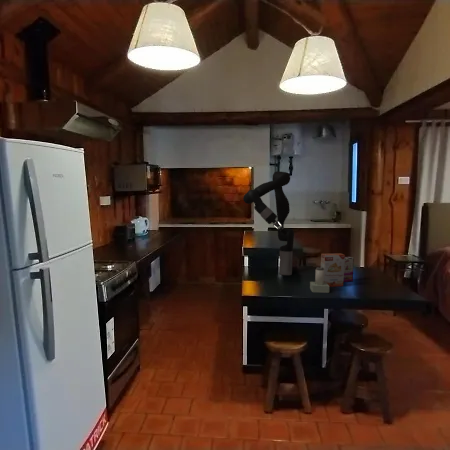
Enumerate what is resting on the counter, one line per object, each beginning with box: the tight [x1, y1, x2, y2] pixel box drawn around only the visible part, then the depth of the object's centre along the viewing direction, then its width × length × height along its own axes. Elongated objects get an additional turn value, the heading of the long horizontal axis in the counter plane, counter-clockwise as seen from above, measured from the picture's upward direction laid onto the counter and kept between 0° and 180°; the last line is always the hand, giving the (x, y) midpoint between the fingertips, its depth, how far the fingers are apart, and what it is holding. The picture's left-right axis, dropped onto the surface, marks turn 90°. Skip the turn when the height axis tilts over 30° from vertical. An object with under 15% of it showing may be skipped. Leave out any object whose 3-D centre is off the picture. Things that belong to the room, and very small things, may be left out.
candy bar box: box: [343, 256, 355, 283], centre depth 262 cm, size 11×5×16 cm, turn 112°
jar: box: [314, 266, 324, 285], centre depth 238 cm, size 5×5×10 cm
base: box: [309, 281, 330, 294], centre depth 239 cm, size 10×10×4 cm
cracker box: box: [320, 253, 346, 288], centre depth 249 cm, size 14×6×21 cm, turn 101°
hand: (285, 233), depth 249 cm, fingers open, 8 cm apart
